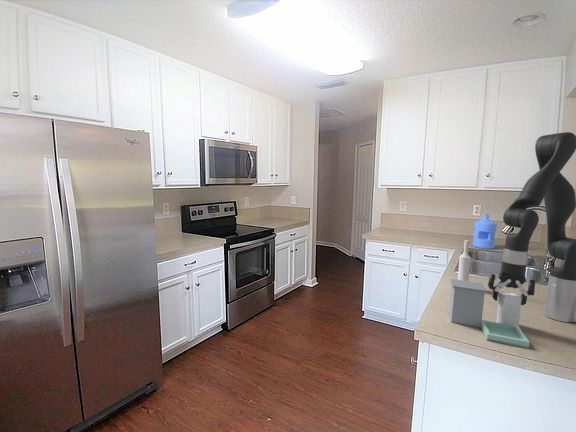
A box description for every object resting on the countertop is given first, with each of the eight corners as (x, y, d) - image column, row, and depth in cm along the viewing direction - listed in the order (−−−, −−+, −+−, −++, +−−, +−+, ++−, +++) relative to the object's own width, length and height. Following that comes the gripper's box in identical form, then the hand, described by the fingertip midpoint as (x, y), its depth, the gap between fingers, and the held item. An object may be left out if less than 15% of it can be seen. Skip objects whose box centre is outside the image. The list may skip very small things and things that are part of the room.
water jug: (468, 244, 264) (471, 213, 261) (485, 245, 265) (489, 213, 262) (480, 249, 249) (484, 215, 245) (498, 249, 250) (502, 215, 246)
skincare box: (510, 322, 120) (514, 293, 119) (518, 327, 116) (522, 297, 114) (495, 322, 120) (498, 292, 118) (503, 327, 116) (507, 297, 114)
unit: (478, 318, 123) (482, 283, 121) (483, 328, 114) (487, 290, 112) (447, 312, 127) (450, 278, 125) (449, 322, 118) (453, 286, 117)
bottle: (462, 289, 154) (467, 241, 151) (454, 286, 159) (458, 239, 156) (470, 289, 156) (475, 241, 152) (462, 285, 161) (466, 239, 157)
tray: (517, 331, 113) (518, 326, 112) (528, 348, 101) (529, 342, 101) (479, 325, 117) (480, 319, 117) (486, 340, 106) (487, 334, 106)
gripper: (494, 261, 114) (489, 302, 116) (541, 266, 109) (534, 309, 111) (489, 256, 121) (484, 295, 123) (533, 261, 116) (527, 302, 118)
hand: (508, 302), depth 117 cm, fingers open, 8 cm apart
